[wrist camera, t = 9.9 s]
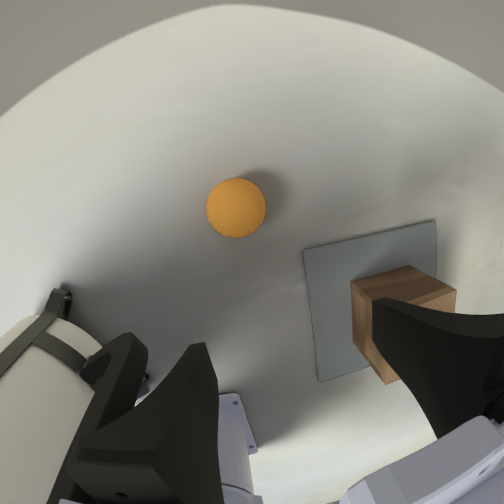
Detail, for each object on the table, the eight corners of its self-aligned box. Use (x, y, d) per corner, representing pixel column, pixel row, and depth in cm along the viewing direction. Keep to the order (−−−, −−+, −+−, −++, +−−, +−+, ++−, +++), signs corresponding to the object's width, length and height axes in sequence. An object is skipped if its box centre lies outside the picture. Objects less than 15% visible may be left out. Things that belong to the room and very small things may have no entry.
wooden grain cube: (407, 323, 22) (446, 357, 17) (352, 342, 22) (385, 385, 16) (409, 264, 21) (456, 289, 15) (350, 281, 21) (390, 315, 15)
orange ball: (266, 226, 20) (275, 236, 16) (214, 237, 19) (212, 249, 16) (256, 173, 19) (263, 172, 15) (202, 184, 19) (197, 185, 15)
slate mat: (427, 339, 24) (430, 341, 23) (318, 379, 23) (319, 382, 23) (432, 220, 21) (435, 221, 20) (302, 250, 20) (304, 252, 20)
